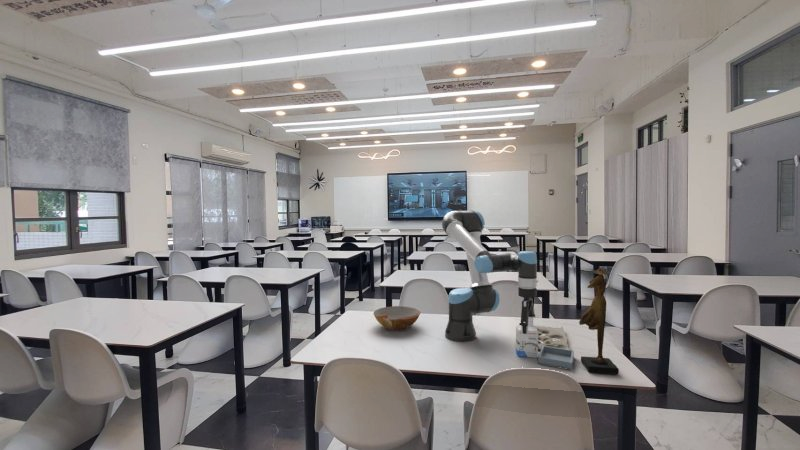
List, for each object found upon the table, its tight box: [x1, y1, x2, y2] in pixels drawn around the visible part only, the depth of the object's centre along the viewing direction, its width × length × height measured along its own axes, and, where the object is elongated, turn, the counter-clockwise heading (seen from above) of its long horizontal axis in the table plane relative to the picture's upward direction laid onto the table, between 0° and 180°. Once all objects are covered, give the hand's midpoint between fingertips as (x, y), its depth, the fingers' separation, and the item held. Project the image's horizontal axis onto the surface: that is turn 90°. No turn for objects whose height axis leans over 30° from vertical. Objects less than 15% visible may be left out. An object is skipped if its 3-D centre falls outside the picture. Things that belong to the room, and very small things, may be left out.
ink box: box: [515, 325, 539, 359], centre depth 160 cm, size 9×5×12 cm, turn 80°
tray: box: [537, 345, 575, 370], centre depth 154 cm, size 13×14×3 cm
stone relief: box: [533, 325, 570, 351], centre depth 178 cm, size 32×3×20 cm
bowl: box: [373, 305, 421, 331], centre depth 198 cm, size 25×25×8 cm
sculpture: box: [578, 267, 620, 375], centre depth 146 cm, size 13×11×40 cm
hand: (527, 336), depth 159 cm, fingers open, 13 cm apart
